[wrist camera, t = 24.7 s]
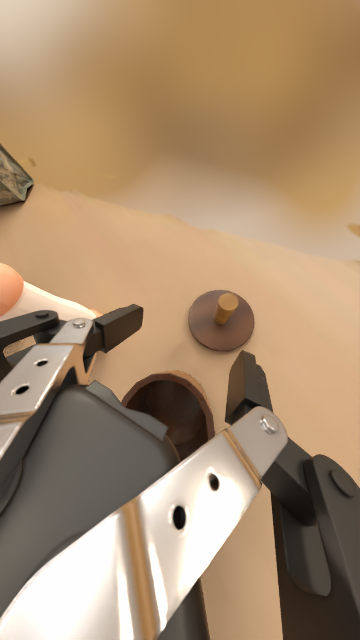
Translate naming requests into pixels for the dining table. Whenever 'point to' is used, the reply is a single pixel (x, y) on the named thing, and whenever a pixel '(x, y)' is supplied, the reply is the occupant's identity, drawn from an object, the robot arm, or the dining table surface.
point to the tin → (175, 408)
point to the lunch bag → (12, 179)
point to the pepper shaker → (34, 299)
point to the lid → (221, 320)
